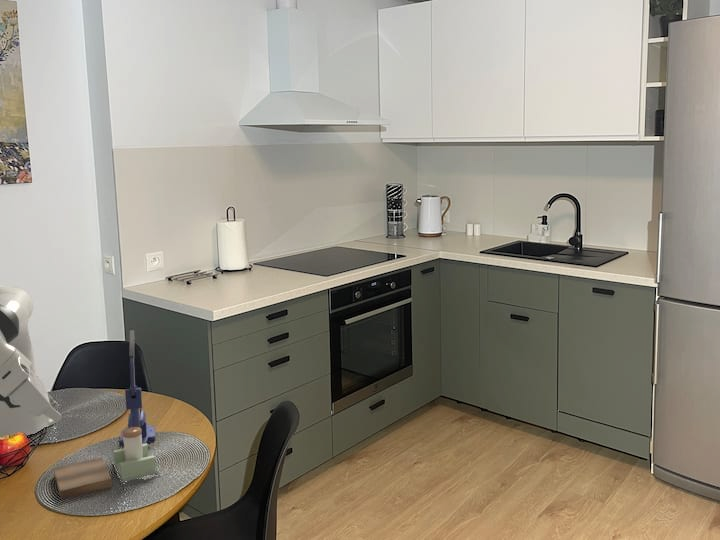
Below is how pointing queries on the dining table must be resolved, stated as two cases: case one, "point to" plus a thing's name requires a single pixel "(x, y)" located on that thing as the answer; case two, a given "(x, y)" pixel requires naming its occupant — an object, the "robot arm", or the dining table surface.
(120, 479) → the mat
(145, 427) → the hand press
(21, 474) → the dining table surface
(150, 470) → the rack
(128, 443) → the mushroom
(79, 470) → the board
